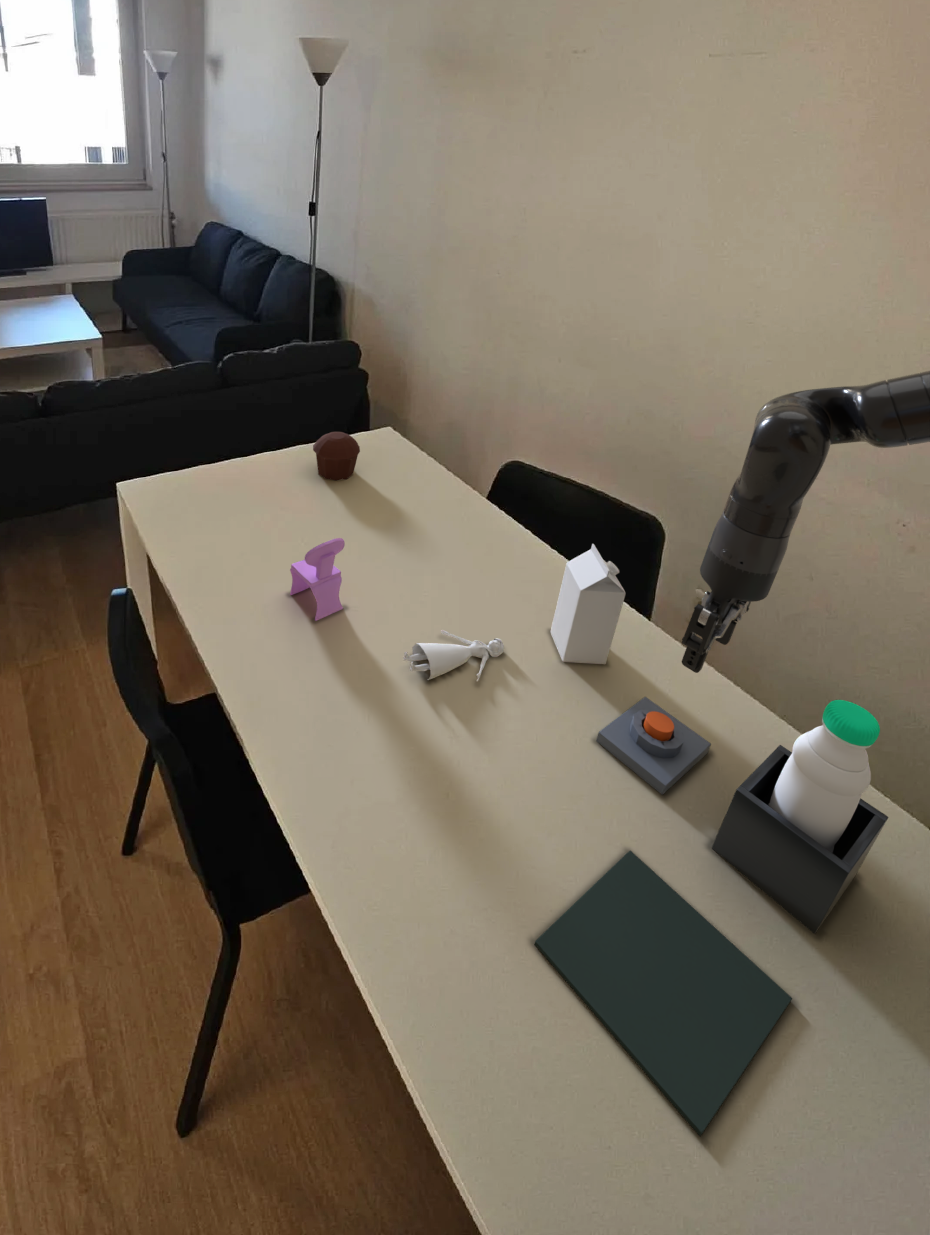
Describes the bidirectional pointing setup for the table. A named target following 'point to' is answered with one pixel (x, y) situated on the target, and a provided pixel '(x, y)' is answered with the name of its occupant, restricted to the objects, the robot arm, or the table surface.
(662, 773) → the control block
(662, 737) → the button
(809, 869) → the dark grey storage bin
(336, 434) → the muffin
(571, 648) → the milk carton
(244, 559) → the table surface
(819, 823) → the water bottle
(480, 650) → the woman figurine
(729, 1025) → the mat
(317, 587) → the toy chair
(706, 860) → the table surface
